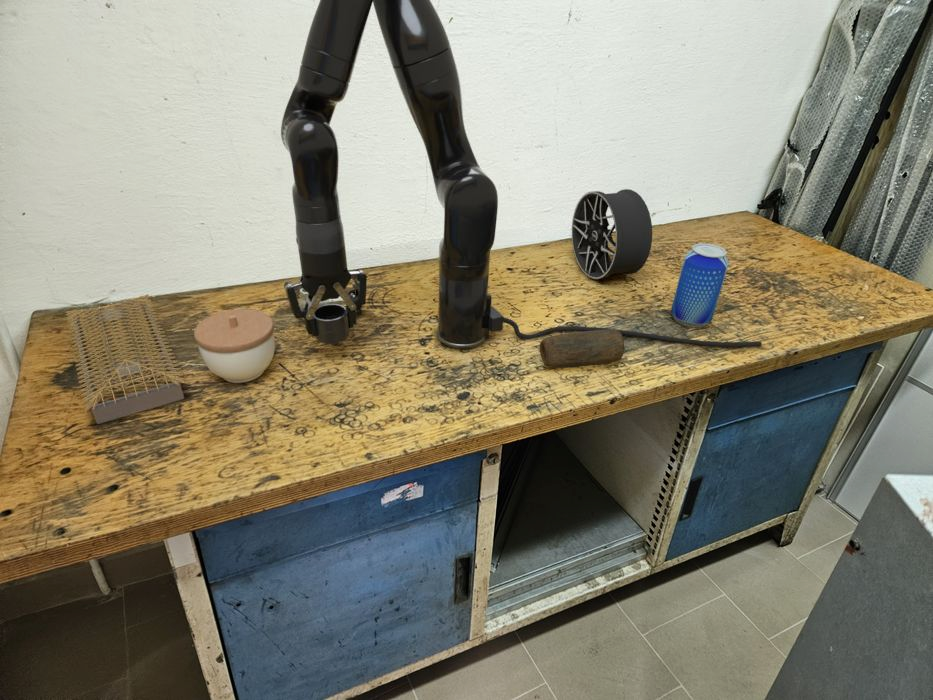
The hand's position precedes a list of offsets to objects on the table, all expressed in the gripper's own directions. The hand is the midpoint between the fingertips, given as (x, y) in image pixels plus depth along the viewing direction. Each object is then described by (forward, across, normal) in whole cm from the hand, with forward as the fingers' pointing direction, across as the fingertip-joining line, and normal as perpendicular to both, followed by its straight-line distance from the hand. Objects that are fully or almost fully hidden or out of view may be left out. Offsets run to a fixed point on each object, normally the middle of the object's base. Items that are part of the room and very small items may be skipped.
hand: (332, 330), depth 105 cm
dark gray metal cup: (+1, 0, 0) cm, 1 cm away
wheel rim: (+7, +70, +10) cm, 71 cm away
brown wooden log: (+7, +40, -20) cm, 46 cm away
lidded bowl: (+6, -16, +2) cm, 17 cm away
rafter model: (+5, -34, +14) cm, 37 cm away
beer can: (+7, +72, -16) cm, 75 cm away
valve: (+6, +4, +15) cm, 17 cm away
